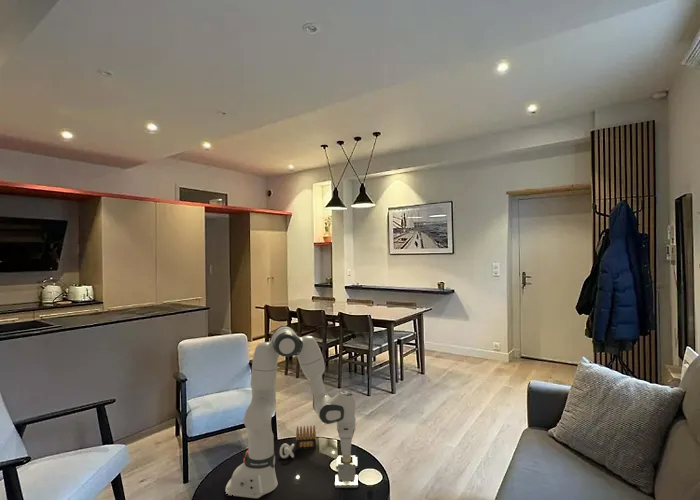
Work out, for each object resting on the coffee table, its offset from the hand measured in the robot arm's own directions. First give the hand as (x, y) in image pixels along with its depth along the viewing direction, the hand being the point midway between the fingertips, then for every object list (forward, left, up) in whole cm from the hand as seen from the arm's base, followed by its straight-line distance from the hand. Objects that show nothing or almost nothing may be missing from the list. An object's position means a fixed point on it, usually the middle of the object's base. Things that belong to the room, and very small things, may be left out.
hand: (346, 455), depth 187 cm
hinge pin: (0, 0, -8) cm, 8 cm away
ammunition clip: (-22, +24, -8) cm, 34 cm away
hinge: (0, 0, -8) cm, 8 cm away
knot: (-30, +16, -8) cm, 35 cm away
